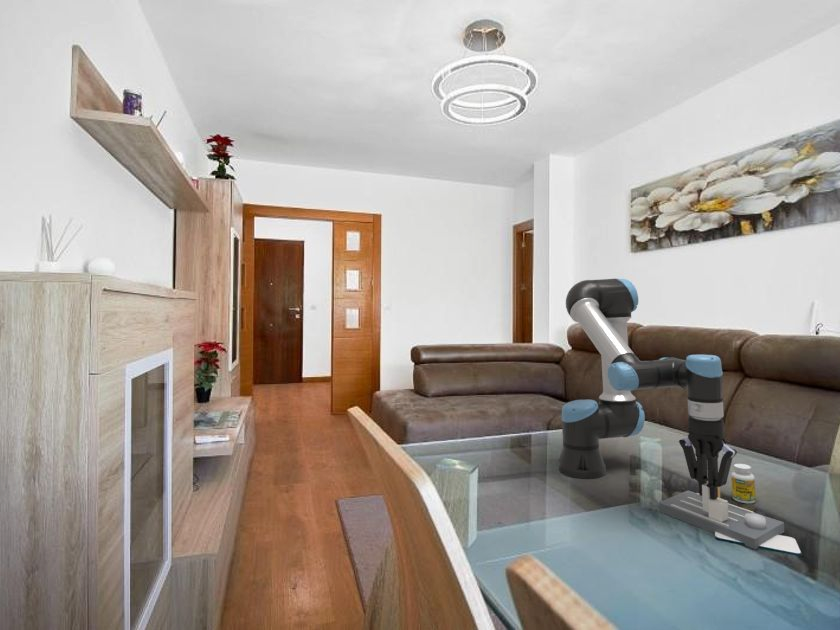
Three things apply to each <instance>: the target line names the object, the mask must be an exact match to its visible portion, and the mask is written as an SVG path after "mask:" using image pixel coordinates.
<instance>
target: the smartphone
mask: <svg viewBox="0 0 840 630" xmlns="http://www.w3.org/2000/svg"><path fill="white" fill-rule="evenodd" d="M713 534H714V539H715V540H716V541H720V542H723V543H728V544H729V543H730V544H736V545H740V546H744V547H746V546H745V544H744V543H743V542H740V541H738V540H735V539H733V538H730V537H728V536H725V535H723V534H720V533H718V532H715V531H714V533H713ZM757 549H761V550H766V551H772V552H776V553H777V552H778V553H782V554H788V555H793V556H802V551H801V548H800V545H799V544H798V542H797V539H796V538H795V537H791V536H789V535H783V534H781V535H776V536H774V537H773V538H771V539H769V540H768V541H766V542H764V543H762V544H761V545H759V546H758V548H757Z"/></svg>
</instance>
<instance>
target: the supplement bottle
mask: <svg viewBox="0 0 840 630" xmlns="http://www.w3.org/2000/svg"><path fill="white" fill-rule="evenodd" d="M730 475H731V493H732V499H733V500H734V501H736V502H738V503H742V504H747V505H748V504H749V505H750V504H754V503H756V501H757V499H756V498H757V495H756V494H757V493H756V477H755V475H754V474H753V473H752V466H751V465H748V464H745V463H735V464H733V471H731V474H730Z"/></svg>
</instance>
